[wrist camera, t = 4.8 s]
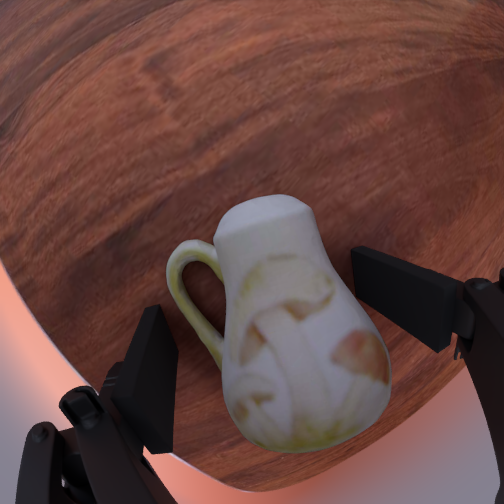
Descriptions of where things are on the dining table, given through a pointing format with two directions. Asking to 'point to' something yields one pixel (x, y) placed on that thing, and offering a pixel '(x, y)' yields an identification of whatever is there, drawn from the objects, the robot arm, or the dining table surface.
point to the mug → (286, 330)
